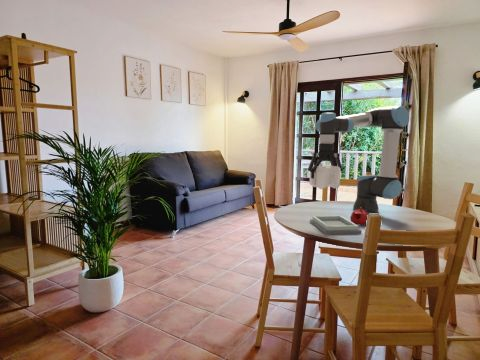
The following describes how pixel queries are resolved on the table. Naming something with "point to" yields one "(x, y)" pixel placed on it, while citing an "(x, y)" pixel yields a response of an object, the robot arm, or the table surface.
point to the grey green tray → (335, 225)
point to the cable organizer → (326, 176)
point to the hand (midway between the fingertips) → (324, 184)
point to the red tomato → (359, 217)
